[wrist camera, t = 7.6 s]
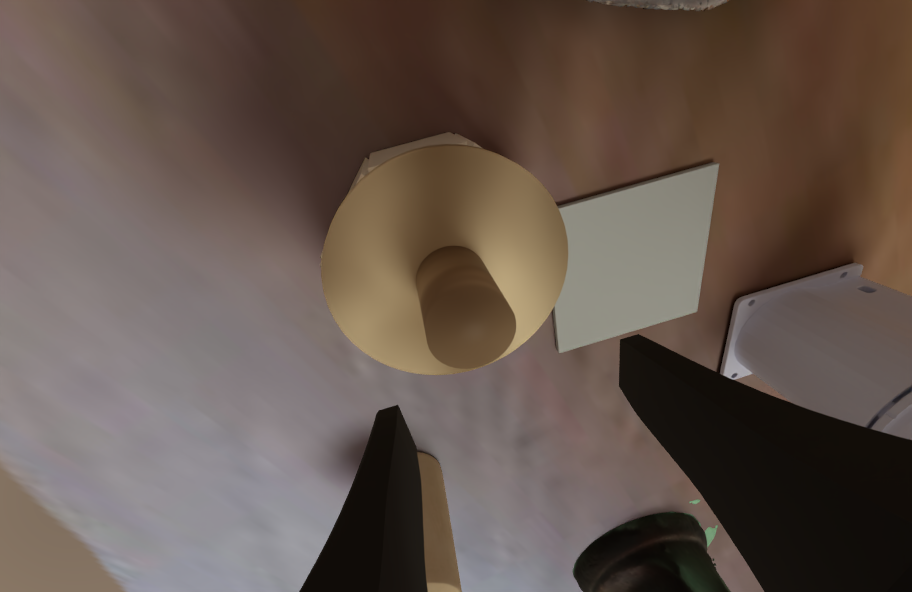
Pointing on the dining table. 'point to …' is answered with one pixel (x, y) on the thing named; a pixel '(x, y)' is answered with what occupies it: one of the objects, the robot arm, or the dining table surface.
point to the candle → (437, 529)
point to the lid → (444, 259)
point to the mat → (634, 256)
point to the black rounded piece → (651, 557)
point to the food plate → (666, 4)
